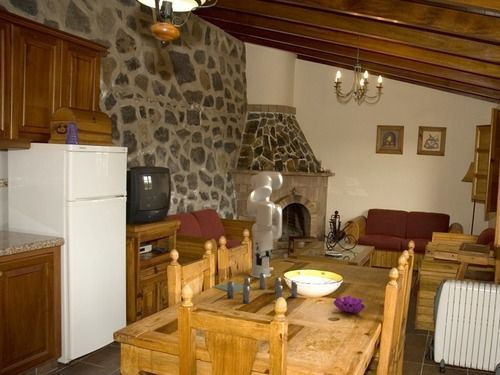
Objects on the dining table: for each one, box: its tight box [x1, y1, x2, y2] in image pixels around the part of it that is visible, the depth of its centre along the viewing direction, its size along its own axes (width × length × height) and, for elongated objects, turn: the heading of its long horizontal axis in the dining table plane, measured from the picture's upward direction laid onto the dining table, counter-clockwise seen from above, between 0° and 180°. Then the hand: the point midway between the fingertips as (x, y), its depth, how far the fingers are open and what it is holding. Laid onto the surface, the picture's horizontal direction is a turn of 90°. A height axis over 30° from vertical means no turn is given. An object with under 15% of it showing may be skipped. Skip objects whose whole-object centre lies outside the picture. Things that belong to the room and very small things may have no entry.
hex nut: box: [257, 255, 270, 268], centre depth 229 cm, size 6×6×5 cm
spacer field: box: [226, 273, 298, 305], centre depth 230 cm, size 27×24×8 cm
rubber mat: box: [213, 282, 251, 294], centre depth 247 cm, size 14×14×1 cm
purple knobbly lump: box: [333, 295, 366, 314], centre depth 212 cm, size 11×15×10 cm
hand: (263, 263), depth 229 cm, fingers closed on hex nut, 5 cm apart
